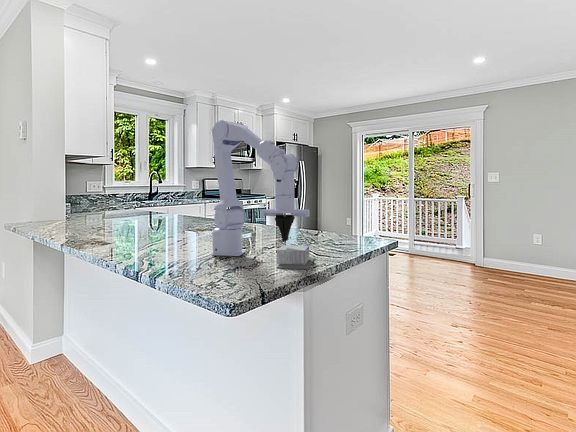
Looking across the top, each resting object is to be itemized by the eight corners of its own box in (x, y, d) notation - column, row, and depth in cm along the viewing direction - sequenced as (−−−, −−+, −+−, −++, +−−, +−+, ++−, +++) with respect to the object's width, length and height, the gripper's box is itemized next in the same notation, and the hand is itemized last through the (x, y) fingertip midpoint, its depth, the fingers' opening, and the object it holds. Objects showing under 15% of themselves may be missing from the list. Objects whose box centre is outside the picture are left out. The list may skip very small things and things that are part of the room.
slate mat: (276, 268, 105) (276, 266, 105) (287, 257, 118) (287, 256, 118) (308, 269, 103) (308, 268, 103) (314, 258, 116) (314, 257, 116)
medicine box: (276, 264, 108) (305, 265, 106) (276, 249, 107) (305, 250, 106) (282, 258, 115) (309, 259, 114) (282, 244, 115) (309, 245, 113)
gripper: (257, 195, 107) (258, 241, 108) (306, 195, 104) (307, 243, 105) (263, 194, 114) (264, 238, 115) (310, 194, 111) (310, 239, 112)
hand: (285, 240), depth 110 cm, fingers closed
